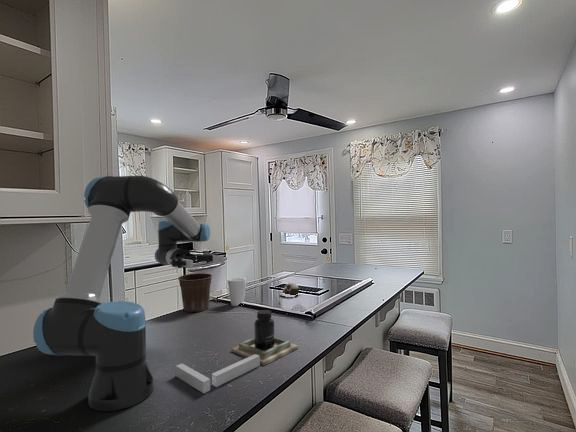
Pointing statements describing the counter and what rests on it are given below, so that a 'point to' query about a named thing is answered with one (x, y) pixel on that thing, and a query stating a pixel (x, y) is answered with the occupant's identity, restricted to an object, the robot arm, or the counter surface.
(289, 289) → the skull
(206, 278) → the plant pot
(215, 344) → the counter surface
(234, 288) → the foam cup
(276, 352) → the seating station
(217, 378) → the bracket
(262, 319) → the supplement bottle
